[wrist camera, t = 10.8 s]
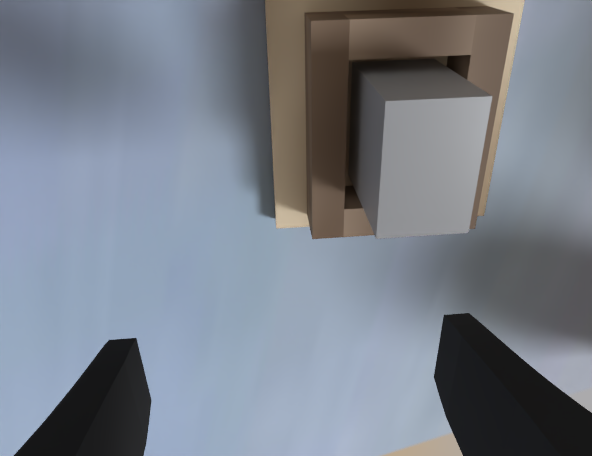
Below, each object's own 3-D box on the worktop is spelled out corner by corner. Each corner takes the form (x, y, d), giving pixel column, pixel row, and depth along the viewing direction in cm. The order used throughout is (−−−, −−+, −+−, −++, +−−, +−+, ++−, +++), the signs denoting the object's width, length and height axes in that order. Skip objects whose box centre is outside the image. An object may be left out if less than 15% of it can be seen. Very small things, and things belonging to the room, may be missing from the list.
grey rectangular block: (348, 174, 20) (376, 238, 16) (352, 61, 18) (385, 101, 14) (421, 170, 20) (468, 232, 16) (434, 58, 18) (492, 95, 14)
